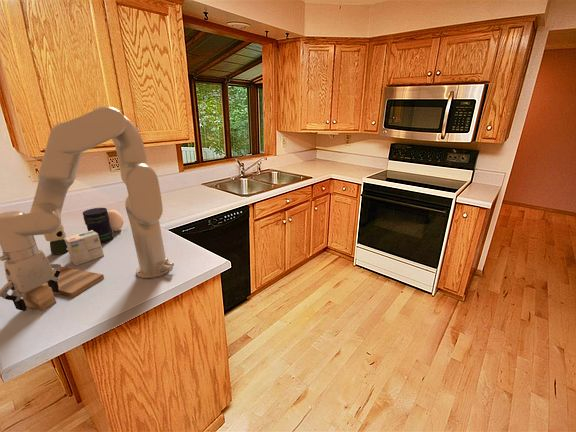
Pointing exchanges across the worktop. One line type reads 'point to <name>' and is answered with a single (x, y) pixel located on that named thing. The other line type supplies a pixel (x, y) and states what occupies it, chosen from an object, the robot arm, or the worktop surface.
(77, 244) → the light bulb box
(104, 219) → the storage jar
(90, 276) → the board
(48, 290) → the block
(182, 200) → the worktop surface
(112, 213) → the egg
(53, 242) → the character mug
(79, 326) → the worktop surface
